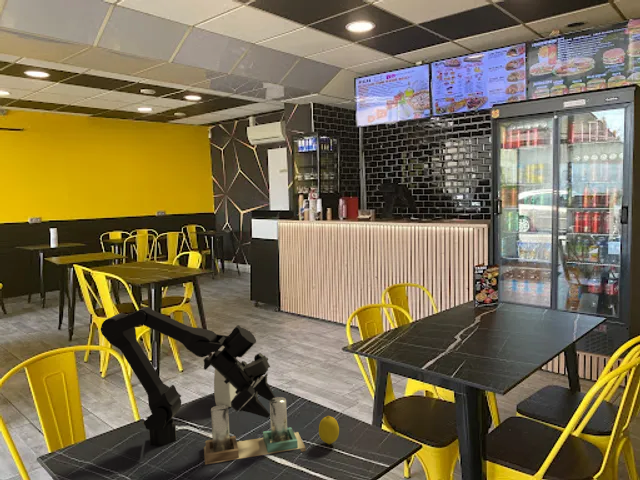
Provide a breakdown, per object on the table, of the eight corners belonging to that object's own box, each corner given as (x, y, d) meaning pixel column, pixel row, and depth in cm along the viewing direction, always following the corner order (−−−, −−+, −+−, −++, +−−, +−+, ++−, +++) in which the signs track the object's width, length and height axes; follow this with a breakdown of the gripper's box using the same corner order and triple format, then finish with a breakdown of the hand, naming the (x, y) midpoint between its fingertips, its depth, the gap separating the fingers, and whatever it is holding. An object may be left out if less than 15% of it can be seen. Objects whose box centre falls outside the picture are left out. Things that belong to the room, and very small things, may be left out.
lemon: (322, 450, 132) (321, 421, 131) (316, 441, 137) (315, 413, 137) (342, 447, 133) (341, 418, 133) (336, 437, 139) (335, 410, 138)
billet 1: (213, 458, 128) (211, 413, 127) (212, 449, 132) (210, 406, 131) (231, 455, 129) (228, 410, 128) (229, 447, 134) (227, 404, 132)
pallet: (205, 468, 125) (204, 456, 125) (204, 450, 134) (203, 440, 134) (305, 451, 132) (305, 440, 132) (298, 435, 141) (297, 425, 140)
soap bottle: (231, 410, 159) (228, 349, 157) (215, 411, 159) (211, 350, 157) (240, 390, 175) (237, 335, 173) (225, 391, 175) (222, 335, 173)
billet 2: (270, 447, 133) (268, 403, 132) (273, 439, 137) (271, 397, 136) (286, 447, 132) (284, 403, 131) (288, 439, 137) (287, 397, 136)
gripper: (241, 359, 124) (286, 403, 124) (258, 337, 142) (297, 375, 142) (212, 389, 125) (256, 433, 125) (232, 364, 144) (271, 401, 144)
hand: (272, 408), depth 134 cm, fingers open, 9 cm apart
